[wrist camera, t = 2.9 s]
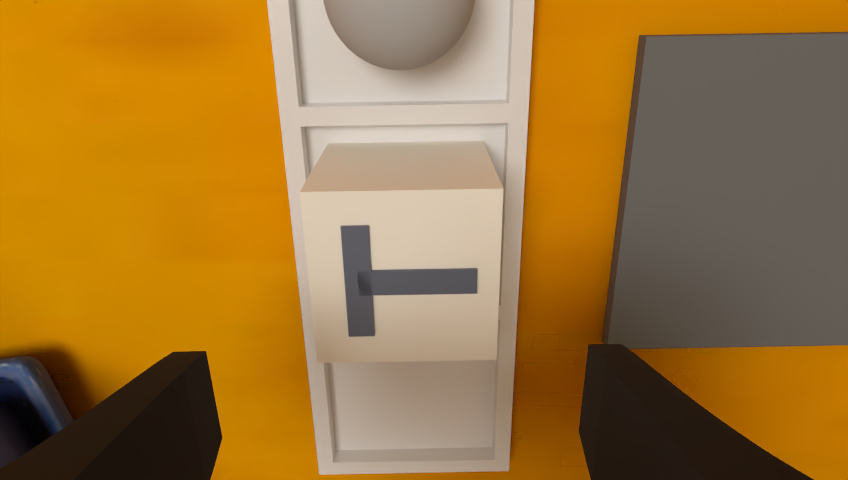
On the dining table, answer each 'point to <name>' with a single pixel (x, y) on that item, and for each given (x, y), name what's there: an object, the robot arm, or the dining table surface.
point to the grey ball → (399, 29)
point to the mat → (734, 194)
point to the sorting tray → (409, 122)
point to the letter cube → (403, 251)
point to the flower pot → (27, 407)
